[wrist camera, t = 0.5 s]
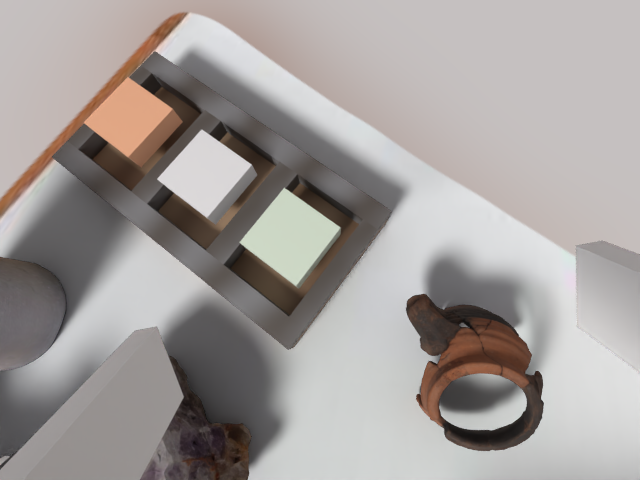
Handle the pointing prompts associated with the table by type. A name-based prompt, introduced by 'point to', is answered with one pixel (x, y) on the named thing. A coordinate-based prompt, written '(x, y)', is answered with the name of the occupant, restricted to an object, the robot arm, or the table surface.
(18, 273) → the pillar candle
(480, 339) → the pottery mug
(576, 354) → the table surface
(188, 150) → the white key
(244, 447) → the rock
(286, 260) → the sage key
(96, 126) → the orange square block
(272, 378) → the table surface
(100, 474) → the robot arm
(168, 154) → the keypad
